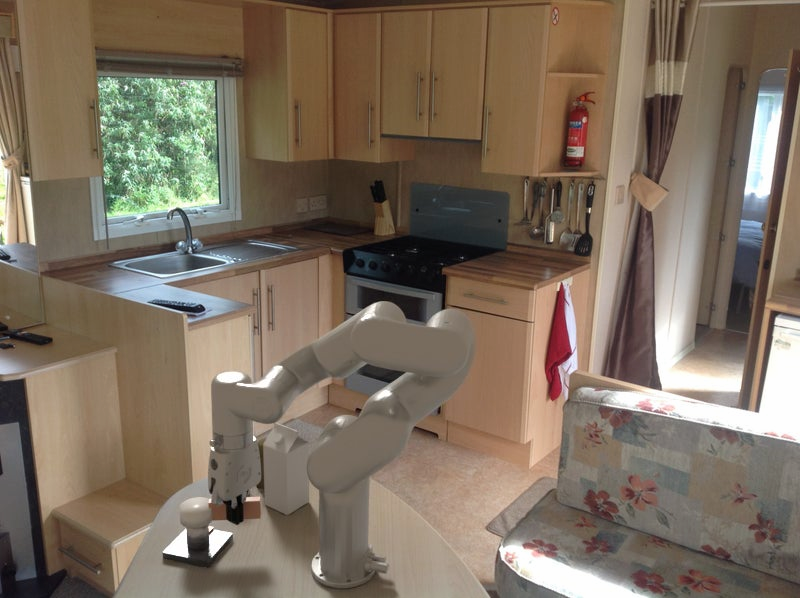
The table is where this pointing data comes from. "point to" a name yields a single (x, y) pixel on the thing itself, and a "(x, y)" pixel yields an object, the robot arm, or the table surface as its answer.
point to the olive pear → (260, 446)
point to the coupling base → (198, 554)
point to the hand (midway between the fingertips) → (235, 520)
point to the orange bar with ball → (213, 511)
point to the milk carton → (285, 470)
